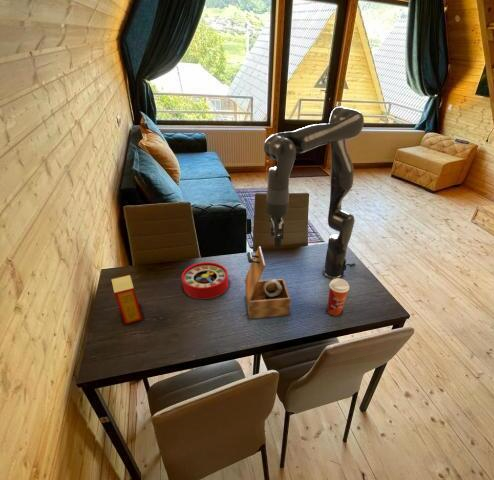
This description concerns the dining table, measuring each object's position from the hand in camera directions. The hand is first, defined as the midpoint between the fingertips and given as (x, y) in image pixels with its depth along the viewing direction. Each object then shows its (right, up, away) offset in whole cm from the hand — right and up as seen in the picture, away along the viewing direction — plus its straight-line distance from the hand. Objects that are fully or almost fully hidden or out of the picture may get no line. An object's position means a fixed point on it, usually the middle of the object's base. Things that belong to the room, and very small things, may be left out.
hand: (275, 240), depth 117 cm
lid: (-8, -12, +7) cm, 16 cm away
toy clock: (-33, -17, +28) cm, 46 cm away
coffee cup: (+25, -28, +19) cm, 42 cm away
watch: (-2, -24, +20) cm, 31 cm away
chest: (-5, -26, +19) cm, 32 cm away
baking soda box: (-58, -29, +9) cm, 66 cm away
